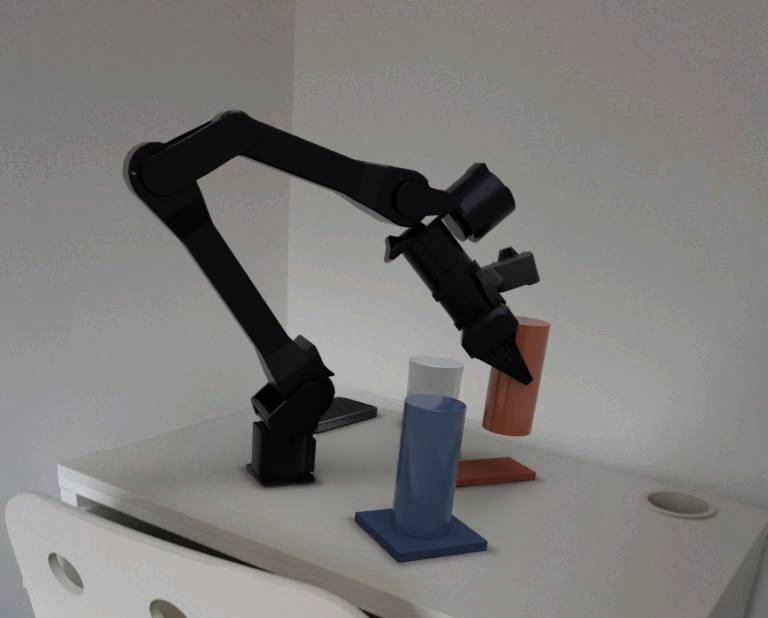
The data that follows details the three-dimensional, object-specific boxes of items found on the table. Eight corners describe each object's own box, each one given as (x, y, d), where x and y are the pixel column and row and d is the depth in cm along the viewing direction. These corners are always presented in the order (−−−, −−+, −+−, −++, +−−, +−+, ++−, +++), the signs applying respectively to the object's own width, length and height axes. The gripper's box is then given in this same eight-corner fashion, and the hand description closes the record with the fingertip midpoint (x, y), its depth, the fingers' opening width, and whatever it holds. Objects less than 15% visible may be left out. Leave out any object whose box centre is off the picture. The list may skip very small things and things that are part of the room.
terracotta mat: (454, 487, 97) (455, 479, 96) (429, 470, 102) (430, 462, 101) (535, 479, 102) (536, 472, 102) (508, 463, 107) (509, 456, 107)
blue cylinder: (408, 541, 79) (423, 412, 74) (380, 517, 83) (393, 394, 79) (460, 535, 81) (478, 410, 77) (430, 511, 86) (446, 393, 81)
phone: (380, 407, 122) (315, 425, 110) (379, 415, 122) (314, 433, 111) (339, 396, 126) (272, 411, 114) (339, 403, 126) (272, 419, 115)
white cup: (456, 438, 115) (466, 369, 111) (401, 433, 115) (409, 363, 111) (453, 423, 122) (462, 357, 119) (401, 417, 122) (408, 352, 119)
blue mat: (398, 562, 76) (399, 552, 76) (354, 520, 85) (355, 511, 84) (486, 550, 81) (488, 541, 81) (436, 511, 89) (437, 503, 89)
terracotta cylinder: (499, 437, 94) (518, 325, 89) (472, 422, 99) (488, 314, 94) (541, 435, 97) (561, 326, 92) (512, 420, 102) (530, 316, 97)
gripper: (512, 226, 81) (600, 349, 85) (498, 218, 98) (571, 321, 102) (423, 297, 84) (512, 413, 87) (425, 278, 101) (499, 375, 105)
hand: (526, 376), depth 95 cm, fingers closed on terracotta cylinder, 6 cm apart
